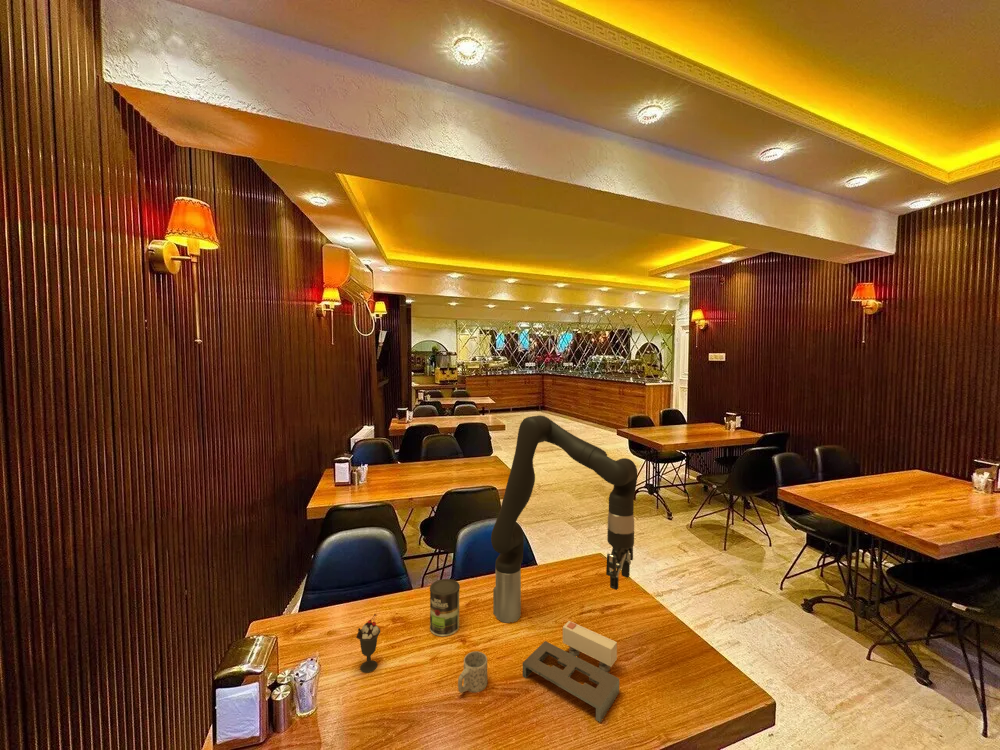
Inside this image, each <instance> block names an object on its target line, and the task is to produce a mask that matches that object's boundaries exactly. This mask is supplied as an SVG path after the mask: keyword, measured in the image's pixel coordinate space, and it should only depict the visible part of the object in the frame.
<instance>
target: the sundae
mask: <svg viewBox="0 0 1000 750" xmlns="http://www.w3.org/2000/svg"><path fill="white" fill-rule="evenodd" d="M376 616H377V614H376V613H374V614H373V616H372V618H370V620H368V621H367V622H366V623H364V624H363V626H362V627H361V628H360V627H358V628H357V631H358V632H357V634H356V639H357V640H359V643H360V650H361V654H362V655H363V656H364V657H366V660H365V661H364V662H362V664H361V665H360V667H359V670H360V671H361V672H362V673H364V674H366V673H367V674H368V673H371V672H373V671H375V670H377V667H378V662H377V661H376V660H374V659H373V660H372V655H373V654H374V653H375V652H376V650H377V645H378V644H377V643H378V637H379V635H380V634H381V629H380V628H379V626H378V625H377V623H376V621H372V620H374V619H375V617H376Z"/></svg>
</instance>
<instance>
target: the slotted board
mask: <svg viewBox="0 0 1000 750" xmlns="http://www.w3.org/2000/svg"><path fill="white" fill-rule="evenodd" d="M549 656H550V657H551V658H553V659H554V660H556V662H557V664H558V665H561V666H562V667H564V668H563V669H561V668H560V667H558V666H555V665H552V666H550V665H548V664H546V663H544V660H546V658H548V657H549ZM575 671H577V672H580V674H583V675H584V676H587V677H588V681H590V682H592V683H593V684H595V685H597V686H596V687H594V686H592V685H590V684H588V683H586V682H584V683H583V684H582V683H580V682H578V681H576V679H573V678H571V677H572V675H573V674H574V672H575ZM532 673H535V674H537V675H538V676H540V677H541V678H544V679H545V680H546V681H549V682H550V683H551V684H554V685H555V686H557V687H559V688H560V689H562V690H564V691H566V692H567V693H569V694H571V695H572V696H574V697H577V698H578V699H579V700H581V701H583V702H585V703H586V704H588V705H590V706H592V707H593V708H595V721H596V720H597V721H599V722H601V723H602V721H603V720H604V718H605V717H606V715H607V713H608V712H609V710H610V709H611V707H612V705H613V704H614V703H615V701H616V699H617V698H616V697H618V696H619V694H620V678H619V677H617V676H615V675H613V674H611V673H609V672H605V671H603V670H601V669H600V668H599V666H598V667H597V666H596V665H594V664H592V663H589V662H588V661H586V660H584V659H582V658H580V657H579V656H577V657H576V656H574V655H572V654H570V653H569V651H566V650H564V649H562V648H561V647H558V646H556V645H554V644H552V643H550V642H548V641H546V640H544V641H543V642H542V643H541V644H540V645H539V647H537V648H536V649H535V650H534V651H533V652H532V653H531V654H530V655H529V656H528V657H527V658H526V659H525V660H524V661H523V662H522V677H523V678H524V679H527V678H528V677H529V676H530V675H531V674H532ZM617 695H618V696H617ZM614 700H615V701H614ZM609 708H610V709H609ZM607 711H608V712H607ZM604 716H605V717H604ZM602 719H603V720H602ZM597 721H596V722H597ZM599 722H598V723H599Z"/></svg>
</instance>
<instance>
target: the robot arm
mask: <svg viewBox="0 0 1000 750" xmlns="http://www.w3.org/2000/svg"><path fill="white" fill-rule="evenodd" d="M544 442H547V443H550V444H551V445H552V444H553V445H555V446H557V447H559V449H561V450H563V451H564V452H565V453H566V454H567V455H568V456H569V457H570V458H571V459H572V460H574V461H575V462H577V463H579V465H582V466H584V467H586V468H588V469H590V470H592V471H593V472H594V473H596V475H598V476H599V477H600V478H602V479H603V480H604V481H605V482H606V483H609V484H611V485H612V486H613V488H612V490H611V492H610V493H609V495H608V496H609V497H608V514H607V533H606V534H607V537H606V538H607V539H606V540H607V543H608V544H609V545H610V546H611V547H612V549H611V553H607V554H606V567H605V568H606V570H605V571H606V572H605V573H606V576H607V577H609V583H610V584H609V587H610V588H611V590H615V591H617V590H619V577H620V576H619V575H620V571H621V576H622V577H624V578H630V567H631V566H630V565H631V564H632V561H633V560H634V546H635V515H634V511H635V510H634V509H635V508H634V504H635V502H634V500H635V492H636V490H637V488H636V487H637V483H638V468H637V466H636V463H635V462H634V461H633V460H631V459H629V458H626V457H625V458H623V457H622V458H619V459H617V460H615V459H613V458H611V457H609V456H608V454H607V452H606V451H605V450H603V448H600V447H598V446H596V445H594V444H593V443H589V442H587V440H583V439H582V438H580V437H577V436H576V435H574V434H572V433H571V432H569V431H568V430H566V429H564V428H563V427H561V426H560V425H558V423H556V422H555V421H554V420H551V419H550V418H548V417H547V416H545V415H540V414H539V415H533V416H527V417H526V418H524V419H523V420H522V421H521V422H520V424H519V428H518V432H517V438H516V445H515V446H516V447H515V451H514V455H513V460H512V462H511V463H512V464H511V468H510V471H509V475H508V479H507V483H506V487H505V491H504V494H503V495H504V496H503V499H502V502H501V506H500V509H499V513H498V514H497V517H496V520H495V522H494V526H493V527H492V531H491V536H490V541H491V546H492V548H493V550H494V551H495V552H496V553H498V554H499V555H498V556H497V557H496V559H495V564H494V565H495V586H494V587H493V589H492V591H493V592H492V593H493V597H492V598H493V600H492V601H493V602H492V603H493V606H492V607H493V608H492V609H493V612H492V613H493V615H494V616H495V617H496V620H498V621H499V620H500V622H502V623H507V624H509V623H510V622H512V623H515V622H518V619H519V618H521V617H520V616H522V615H521V614H522V591H521V588H522V583H521V582H522V580H521V579H522V577H521V575H522V573H521V572H522V571H521V569H522V562H523V560H524V546H525V545H524V544H525V539H524V532H523V528H522V526H521V525H520V523H519V522H517V521H518V518H519V517H520V515H521V514H522V512H523V511H524V509H525V508H526V506H527V504H528V503H529V501H530V500H531V499H530V498H531V497H532V493H533V490H534V486H535V482H536V474H535V469H534V456H535V454H536V450H537V448H538V445H539V443H544ZM519 620H520V619H519ZM514 621H515V622H514Z"/></svg>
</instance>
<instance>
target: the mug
mask: <svg viewBox="0 0 1000 750" xmlns="http://www.w3.org/2000/svg"><path fill="white" fill-rule="evenodd" d="M487 686H488V656H487V655H486V654H485V653H483V652H482V651H475V650H474V651H471V652H468V653H467V654H465V656H464V658H463V670H462V672H461V673H460V675H458V680H457V689H458V692H459V693H460V694H462V693H464V692H465V693H466V692H467V691H468V692H470V693H473V694H474V693H476V694H477V693H479V692H482V691H484V690H485V689H486V687H487Z"/></svg>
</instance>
